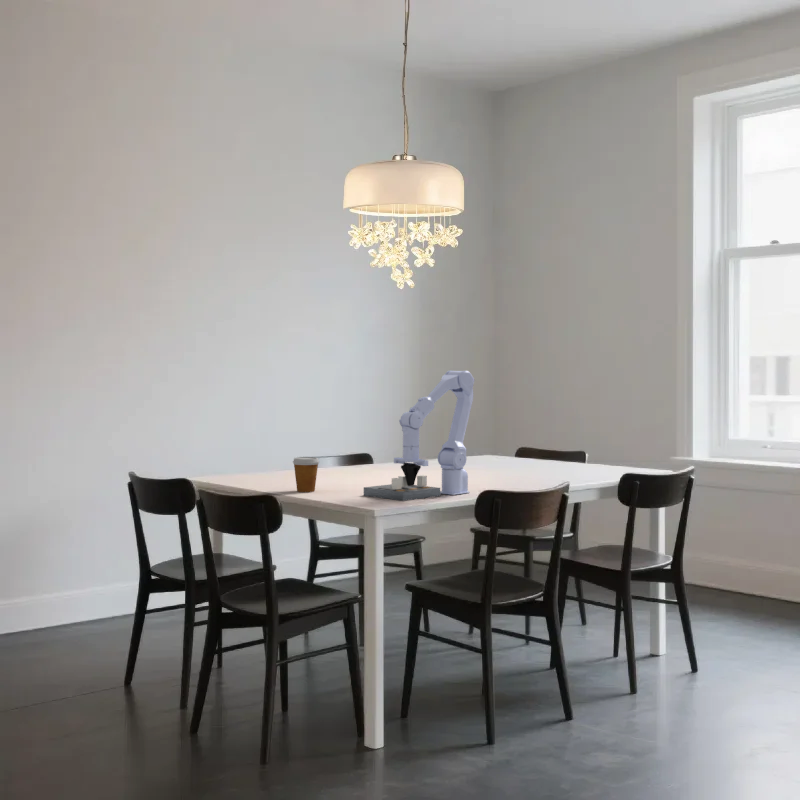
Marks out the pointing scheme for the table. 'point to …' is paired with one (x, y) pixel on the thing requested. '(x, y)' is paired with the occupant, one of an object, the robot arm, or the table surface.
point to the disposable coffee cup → (305, 473)
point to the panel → (402, 492)
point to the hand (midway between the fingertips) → (410, 485)
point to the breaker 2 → (421, 480)
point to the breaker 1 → (396, 483)
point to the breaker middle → (403, 481)
